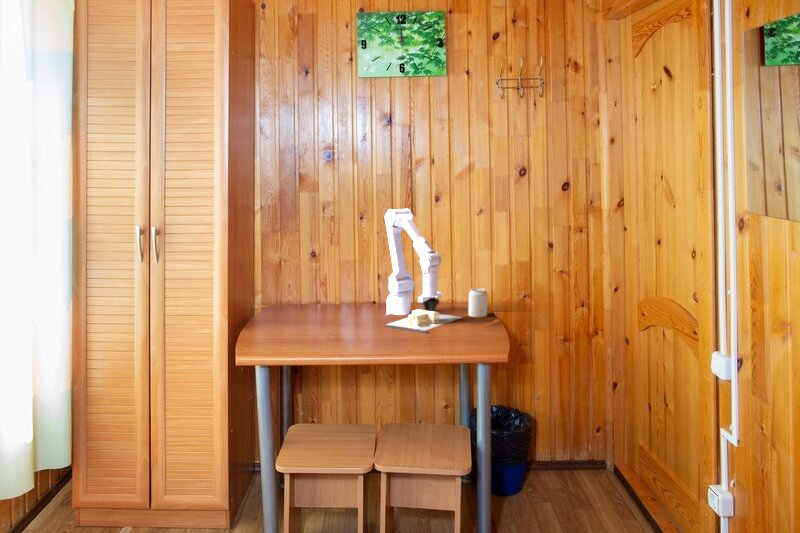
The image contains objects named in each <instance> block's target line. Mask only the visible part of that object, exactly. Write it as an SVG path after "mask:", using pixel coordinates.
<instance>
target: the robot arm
mask: <svg viewBox="0 0 800 533" xmlns="http://www.w3.org/2000/svg"><path fill="white" fill-rule="evenodd" d="M384 222H385V228H386V233H387V240H388V246H389V251H390V258H391V265H392V273H391V274H390V276H389V277H388V291H389V294H388V296H387V298H386V314H385V316H387V315H397V316H406V315H410V314H411V295H412V294H413V292H414V290H415V281H414V279H413V276H412V273H411V272H409V271H408V270H407V266H406V261H405V260H406V259H405V255H404V254H405V253H404V249H403V248H404V246H403V241H402V240H403V239H402V234H401V233H402V231H403V230H405V231H406V232H407V234H408V235H409V237H410V238H411V239H412V241H413V242H412V246H413V248H414V250H415V252H416V253H417V255H418V256H419V258H420V259H419V264H420V266H421V272H422V294H421V295H420V296H417V302H418V303H421V304H422V305H423V308H424V310H427V311H434V312H436V307H437V306H438V304H439V303H440V302H439V301H440V300H439V299H438V298H442V296H443V292H442V291H439V290H438V288H439V287H438V286H439V285H438V283H439V282H438V280H439V278H438V274H439V270H438V267H439V266H440V265H441V262H442V258H441V255H440V253H439V252H437V251H435V250H433V248H432V246H431V245H430V243H429V242H428V240H427V238H426V237H422V236H421V234H420V232H419V230H418V228H417V226H416V224H415V221H414V214H413V213H412V211H411V209H409V208H399V209H398V208H396V209H392V208H390V209H387V212H386V213H385V215H384Z"/></svg>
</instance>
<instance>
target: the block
mask: <svg viewBox="0 0 800 533" xmlns="http://www.w3.org/2000/svg"><path fill="white" fill-rule="evenodd" d="M439 314H440V311H435V312H434V311H427V310H425V309H419V308H418V309H415V310H414V309H413V310H411V313H410V314H407V315H408V317H407V318H408V325H410V326H420V325H423V324H426V323H429V324H436V323H439Z"/></svg>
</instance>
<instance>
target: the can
mask: <svg viewBox="0 0 800 533" xmlns="http://www.w3.org/2000/svg"><path fill="white" fill-rule="evenodd" d="M468 316H469V317H473V318H486V317H487V316H488V292H487V289H486V288H482V287H474V288H470V291H469V292H468Z"/></svg>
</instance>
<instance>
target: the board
mask: <svg viewBox="0 0 800 533" xmlns="http://www.w3.org/2000/svg"><path fill="white" fill-rule="evenodd" d="M462 318H463V316H456V315H450V314H441V313H439V323H436V324H429V323H426V324H423V325H420V326H410V325H408V317H404V318H401V319H399V320H395V321H392V322H388V323H386V324H385V328H386V327H387V328H388V329H394V330H400V331H407V332H413V333H414V332H415V333H419V334H428V333H430V331H428V330H430V329H433V328H434V329H435V328H437V327H439V326H440V327H441V326H442V325H443V326H444V325H445V324H448V323H451V322H454V321H457V320H459V319H462Z"/></svg>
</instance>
